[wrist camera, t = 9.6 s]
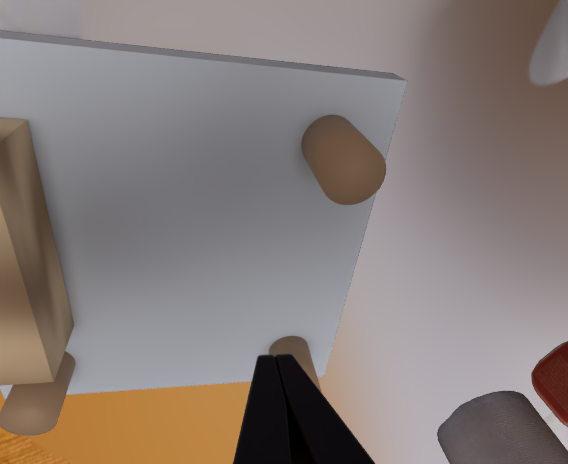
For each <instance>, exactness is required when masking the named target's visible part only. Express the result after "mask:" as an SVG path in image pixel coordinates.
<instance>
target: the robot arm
mask: <svg viewBox="0 0 568 464" xmlns="http://www.w3.org/2000/svg"><path fill="white" fill-rule="evenodd" d="M233 464H375V463H374V461H373V460H372V459H371V457H370V456H369V455H368V454H367V452H366V451H365V449H364V448H363V447H362V445H361V444H360V443H359V442H358V440H357V439H356V438H355V436H354V435H353V434H352V432H351V431H350V430H349V428H348V427H347V426H346V425H345V423H344V422H343V420H342V419H341V418H340V417H339V415H338V414H337V413H336V411H335V410H334V409H333V407H332V406H331V405H330V404H329V402H328V401H327V400H326V398H325V397H324V396H323V394H322V393H321V392H320V390H319V389H318V388H317V386H316V385H315V384H314V382H313V381H312V380H311V378H310V377H309V376H308V375H307V373H306V372H305V371H304V369H303V368H302V367H301V365H300V364H299V363H298V361H297V360H296V359H295V357H294V356H293V355H292V354H290V353H285V354H276V355H275V356H274V355H272V354H268V355H259V356H258V357H257V360H256V364H255V369H254V373H253V378H252V382H251V387H250V391H249V395H248V400H247V404H246V409H245V413H244V417H243V422H242V426H241V431H240V435H239V439H238V444H237V448H236V453H235V457H234V461H233Z"/></svg>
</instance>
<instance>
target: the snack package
mask: <svg viewBox="0 0 568 464" xmlns="http://www.w3.org/2000/svg"><path fill="white" fill-rule="evenodd" d="M532 384H533V387H534V389H535V391H536V392H537V394H538V395H539V396H540V398H541V399H542V400H543V401H544V402H545V403H546V405H547V406H548V407H549V408H550V410H551V411H552V412H553V413H554V414H555V416H556V417H557V418H558V419H559V420H560V422H562V423H563V424H564V425H566V426H567V427H568V341H567V342H565V343H562V344H561V345H559V346H557V347H556V348H554V349H553V350H552V351H551V352H550V353H548V354H547V355H546V356H545V357H543V358H542V359H541V360H540V361H539V362H538V364H537V365H536V366H535V368H534V370H533V372H532Z"/></svg>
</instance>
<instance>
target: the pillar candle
mask: <svg viewBox="0 0 568 464" xmlns="http://www.w3.org/2000/svg"><path fill="white" fill-rule="evenodd" d="M437 436H438V441H439V443H440V445H441V447H442V449H443V452H444V453H445V455H446V457H447V459H448V461H449V463H450V464H568V451H567V450H566V448H565V447H564V446H563V444H562V443H561V442H560V440H559V439H558V438H557V436H556V435H555V434H554V433H553V431H552V430H551V429H550V427H549V426H548V425H547V423H546V422H545V421H544V420H543V419H542V417H541V416H540V415H539V413H538V412H537V411H536V410H535V408H534V407H533V405H532V404H531V403H530V401H529V400H528V399H527V398H526V397H525V396H524V395H523V394H521V393H518V392H514V391H499V392H493V393H489V394H486V395H483V396H480V397H477V398H474V399H472V400H471V401H469V402H466V403H464V404H462V405H461V406H459V407H458V408H457V409H456V410H455V411H454V412H453V414H452V415H451V416H450V417H449V418H448V419H447V420H446V421H445V422H444V423H443V424H442V425H441V426H440V427H439V429H438V432H437Z"/></svg>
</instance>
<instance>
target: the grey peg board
mask: <svg viewBox="0 0 568 464" xmlns="http://www.w3.org/2000/svg"><path fill="white" fill-rule="evenodd" d="M407 82H408V81H407V80H405V79H403V78H401V77H399V76H397V75H395V74H393V73H386V72H377V71H367V70H358V69H349V68H339V67H330V66H321V65H312V64H302V63H294V62H284V61H275V60H265V59H256V58H247V57H238V56H229V55H219V54H211V53H201V52H192V51H183V50H174V49H165V48H155V47H146V46H137V45H127V44H118V43H109V42H100V41H91V40H82V39H72V38H63V37H54V36H45V35H35V34H26V33H17V32H8V31H0V118H8V119H23V120H27V123H28V127H29V131H30V136H31V140H32V144H33V149H34V153H35V157H36V162H37V166H38V170H39V175H40V179H41V184H42V188H43V192H44V197H45V201H46V205H47V210H48V214H49V218H50V223H51V227H52V231H53V236H54V240H55V245H56V249H57V253H58V258H59V262H60V266H61V271H62V275H63V279H64V284H65V288H66V293H67V297H68V301H69V306H70V310H71V314H72V319H73V323H74V328H73V331H72V333H71V336H70V339H69V341H68V344H67V347H66V350H65V352H64V355H63V358H62V361H61V363H60V366H59V369H58V372H57V374H56V377H55V380H54V382H46V383H31V384H16V385H1V386H0V389H1V391H2V394H3V396H4V398H5V399H6V401H5V403H4V406H3V408H2V410H1V412H0V426H1V427H2V428H3V429H4V430H6V431H8V432H10V433H13V434H18V435H26V436H31V435H39V434H43V433H46V432H48V431H50V430H52V429H53V428H54V427H55V426H56V424H57V420H58V418H59V415H60V412H61V409H62V405H63V402H64V399H65V396H66V395H69V394H82V393H97V392H110V391H124V390H138V389H152V388H166V387H178V386H193V385H207V384H221V383H235V382H249V381H252V378H253V373H254V369H255V364H256V360H257V357H258V356H259V355H268V354H272V355H274V356H275V355H276V354H285V353H290V354H292V355H293V356H294V357H295V359H296V360H297V361H298V363H299V364H300V365H301V367H302V368H303V369H304V371H305V372H306V373H307V375H308V376H309V377H310V378H311V380H312V381H313V382H314V384H315V385H316V386H317V388H318V389H319V390H320V392H321V389H320V385H319V382H318V378H317V377H318V376H324V375H325V372H326V368H327V364H328V361H329V357H330V354H331V350H332V347H333V343H334V340H335V336H336V333H337V329H338V326H339V322H340V319H341V315H342V311H343V308H344V305H345V301H346V297H347V293H348V290H349V287H350V283H351V280H352V276H353V273H354V269H355V265H356V262H357V259H358V255H359V252H360V248H361V244H362V241H363V237H364V234H365V230H366V227H367V223H368V219H369V216H370V213H371V209H372V206H373V202H374V199H375V195H376V192H377V190H378V189H379V188H380V186H381V185H382V182H383V181H384V178H385V174H386V164H385V160H386V156H387V152H388V149H389V146H390V142H391V139H392V135H393V132H394V128H395V125H396V121H397V117H398V114H399V110H400V107H401V103H402V99H403V96H404V93H405V89H406V86H407ZM321 393H322V392H321Z"/></svg>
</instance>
